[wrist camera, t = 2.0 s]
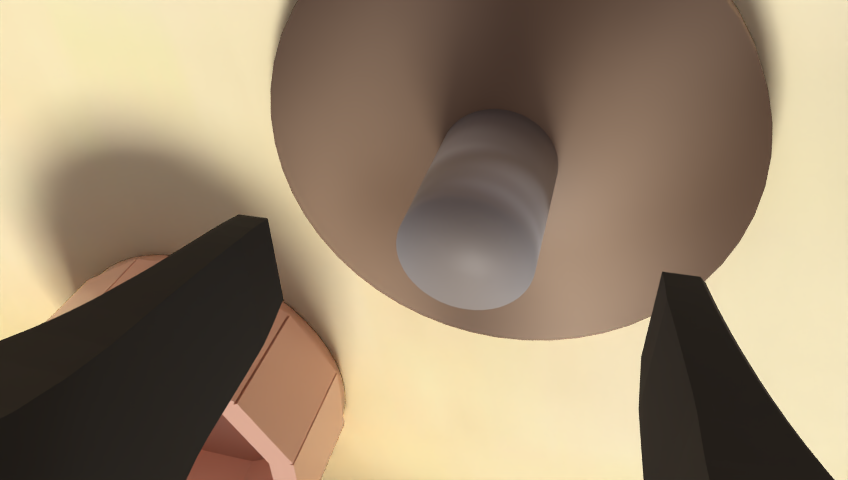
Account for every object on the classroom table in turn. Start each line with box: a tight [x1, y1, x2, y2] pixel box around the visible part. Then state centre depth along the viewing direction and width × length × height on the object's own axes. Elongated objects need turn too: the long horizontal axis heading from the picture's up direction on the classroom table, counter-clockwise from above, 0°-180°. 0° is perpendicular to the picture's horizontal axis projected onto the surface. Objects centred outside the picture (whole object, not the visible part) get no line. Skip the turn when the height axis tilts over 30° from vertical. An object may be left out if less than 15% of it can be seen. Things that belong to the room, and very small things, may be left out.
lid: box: [271, 0, 772, 340], centre depth 15 cm, size 12×12×4 cm
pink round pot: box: [46, 255, 345, 480], centre depth 23 cm, size 10×10×4 cm
